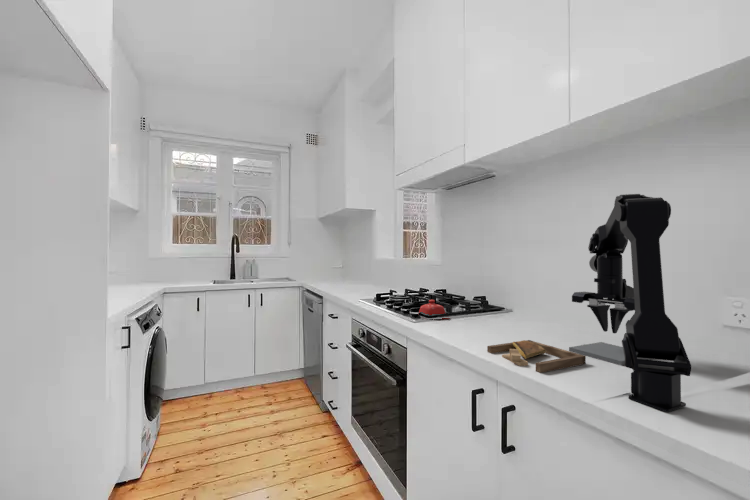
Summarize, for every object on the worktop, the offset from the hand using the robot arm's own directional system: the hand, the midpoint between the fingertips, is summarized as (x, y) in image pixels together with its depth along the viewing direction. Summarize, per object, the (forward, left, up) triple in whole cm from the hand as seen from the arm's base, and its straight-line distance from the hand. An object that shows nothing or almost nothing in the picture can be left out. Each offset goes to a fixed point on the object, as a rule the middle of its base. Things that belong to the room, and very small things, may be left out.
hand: (610, 332), depth 94 cm
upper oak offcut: (+6, +28, -5) cm, 30 cm away
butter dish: (+62, +16, -6) cm, 65 cm away
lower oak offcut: (+6, +28, -7) cm, 30 cm away
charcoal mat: (0, 0, -6) cm, 6 cm away
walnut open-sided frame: (+6, +22, -6) cm, 24 cm away
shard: (+4, +22, -8) cm, 24 cm away
